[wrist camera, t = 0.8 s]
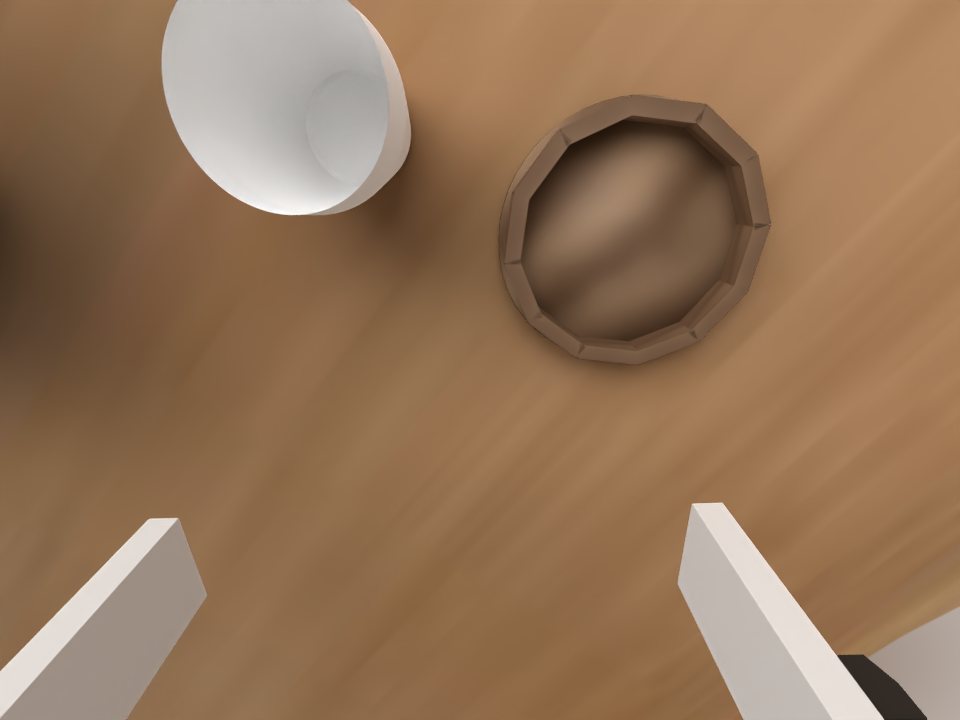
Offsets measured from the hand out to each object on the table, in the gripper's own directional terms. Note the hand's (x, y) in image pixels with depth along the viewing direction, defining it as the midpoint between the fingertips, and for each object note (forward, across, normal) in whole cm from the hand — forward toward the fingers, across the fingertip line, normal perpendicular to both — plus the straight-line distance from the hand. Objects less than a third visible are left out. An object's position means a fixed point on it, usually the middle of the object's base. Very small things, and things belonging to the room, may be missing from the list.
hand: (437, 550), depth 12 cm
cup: (+23, -6, +12) cm, 27 cm away
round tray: (+22, +11, +5) cm, 26 cm away
